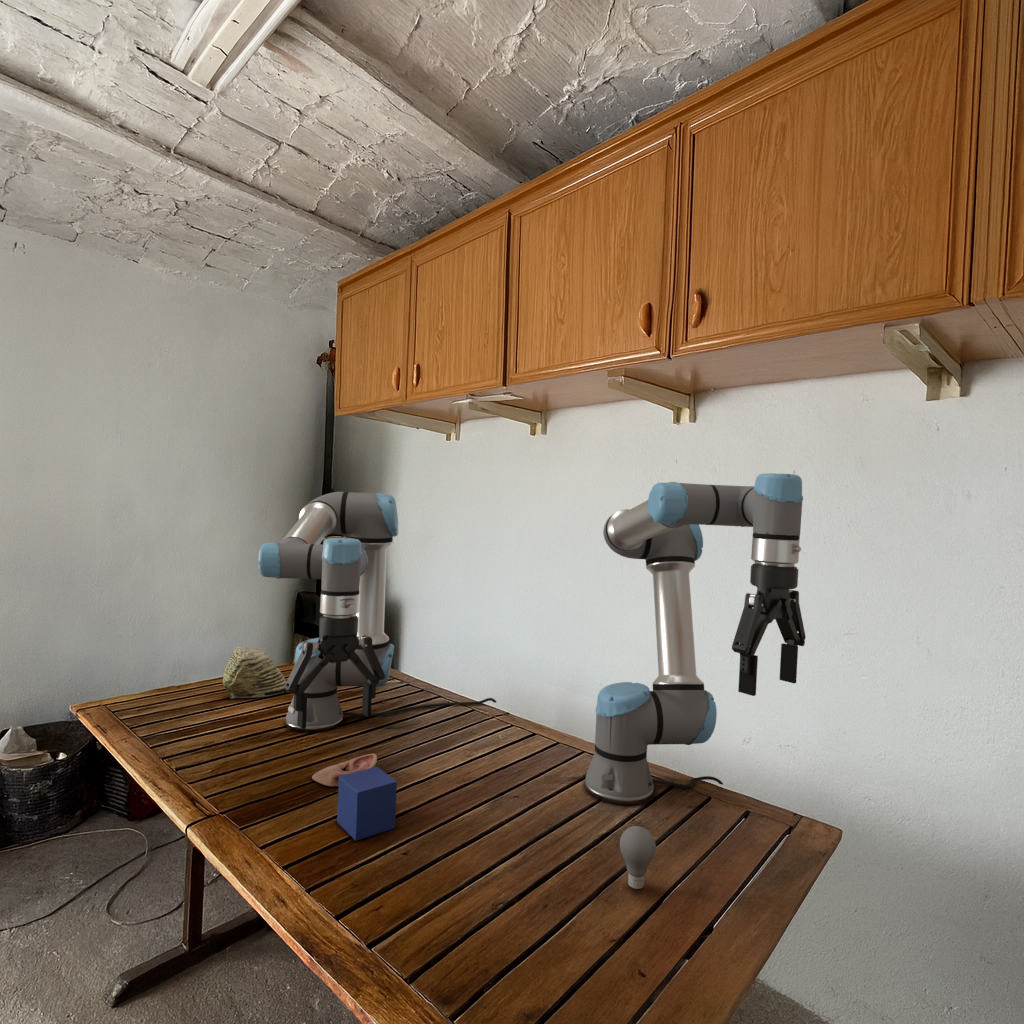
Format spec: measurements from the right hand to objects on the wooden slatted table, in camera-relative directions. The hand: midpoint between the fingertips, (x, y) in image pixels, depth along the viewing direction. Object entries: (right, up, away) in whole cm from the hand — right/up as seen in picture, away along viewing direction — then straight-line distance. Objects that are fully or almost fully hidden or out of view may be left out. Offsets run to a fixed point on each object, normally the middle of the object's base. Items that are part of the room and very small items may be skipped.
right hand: (768, 687), depth 109 cm
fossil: (-125, -27, +89) cm, 156 cm away
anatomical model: (-82, -30, +35) cm, 94 cm away
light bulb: (-23, -33, -2) cm, 41 cm away
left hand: (-80, -12, +19) cm, 83 cm away
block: (-72, -31, +14) cm, 80 cm away
